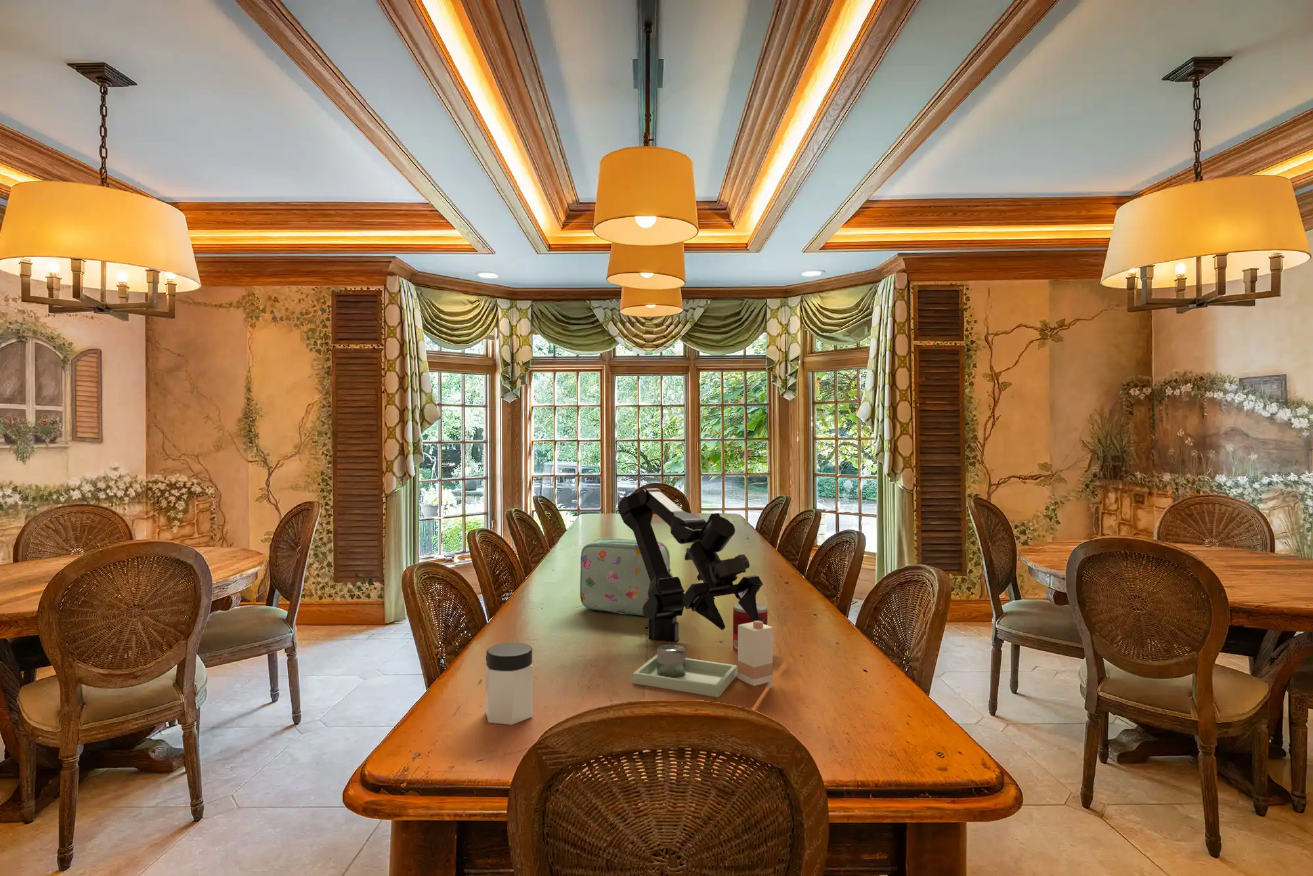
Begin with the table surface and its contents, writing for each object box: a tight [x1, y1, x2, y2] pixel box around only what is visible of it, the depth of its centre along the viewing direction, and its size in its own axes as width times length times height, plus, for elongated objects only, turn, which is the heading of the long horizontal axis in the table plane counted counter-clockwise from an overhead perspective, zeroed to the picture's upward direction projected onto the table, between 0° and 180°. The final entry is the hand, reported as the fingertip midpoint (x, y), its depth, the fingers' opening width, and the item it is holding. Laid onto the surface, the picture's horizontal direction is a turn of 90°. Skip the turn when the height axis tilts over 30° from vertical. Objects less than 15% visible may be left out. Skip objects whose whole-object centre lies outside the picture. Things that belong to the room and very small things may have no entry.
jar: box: [485, 642, 534, 726], centre depth 123 cm, size 9×8×12 cm
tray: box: [632, 654, 738, 698], centre depth 139 cm, size 18×13×3 cm
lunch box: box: [579, 537, 674, 617], centre depth 196 cm, size 27×10×21 cm, turn 71°
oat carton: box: [736, 621, 774, 688], centre depth 139 cm, size 5×5×13 cm
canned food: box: [732, 602, 768, 653], centre depth 159 cm, size 8×8×11 cm
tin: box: [656, 644, 687, 678], centre depth 143 cm, size 6×6×5 cm
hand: (740, 625), depth 143 cm, fingers open, 9 cm apart
